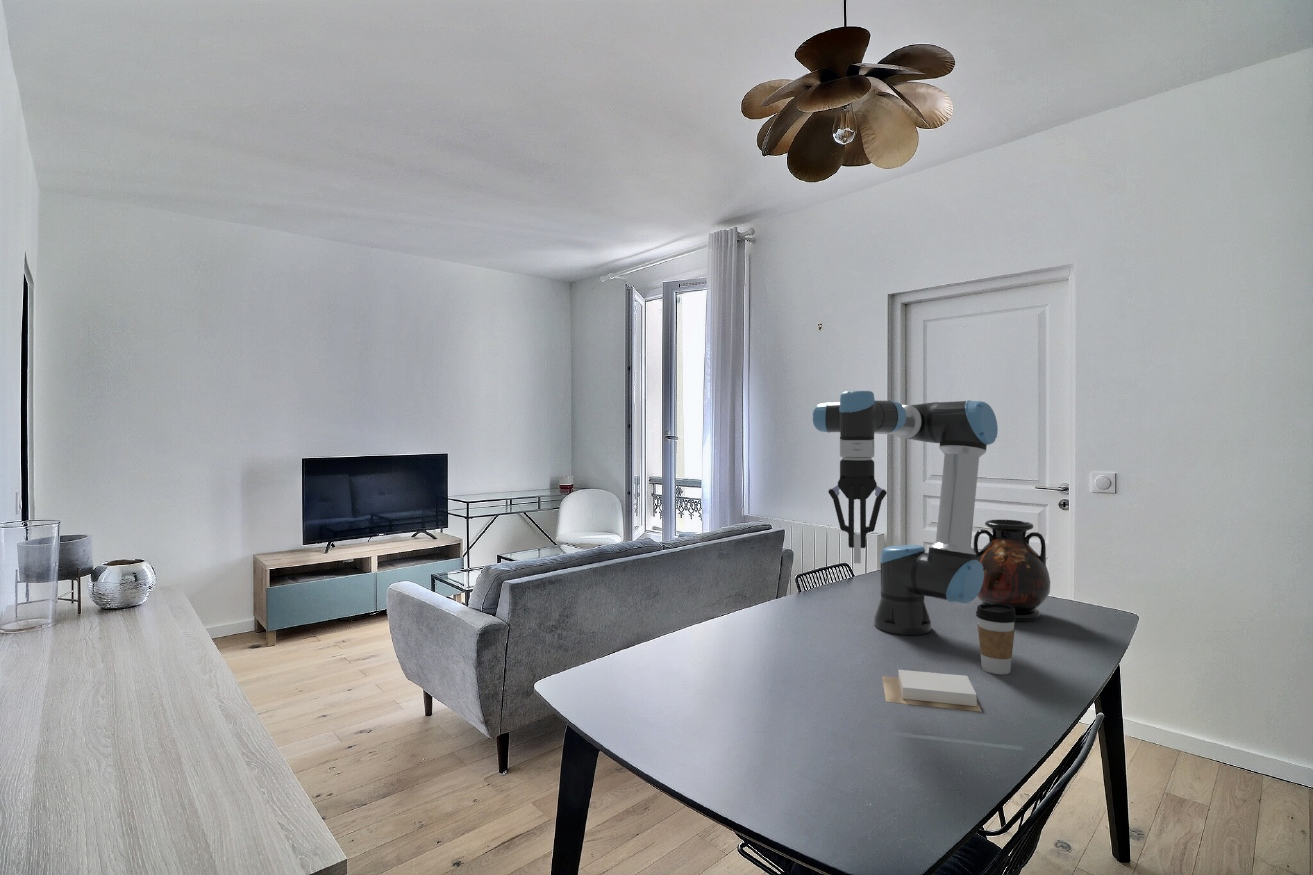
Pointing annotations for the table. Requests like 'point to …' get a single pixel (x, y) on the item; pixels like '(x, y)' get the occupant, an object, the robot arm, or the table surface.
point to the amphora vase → (1013, 568)
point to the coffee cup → (996, 636)
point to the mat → (895, 696)
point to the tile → (937, 687)
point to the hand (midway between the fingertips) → (857, 561)
